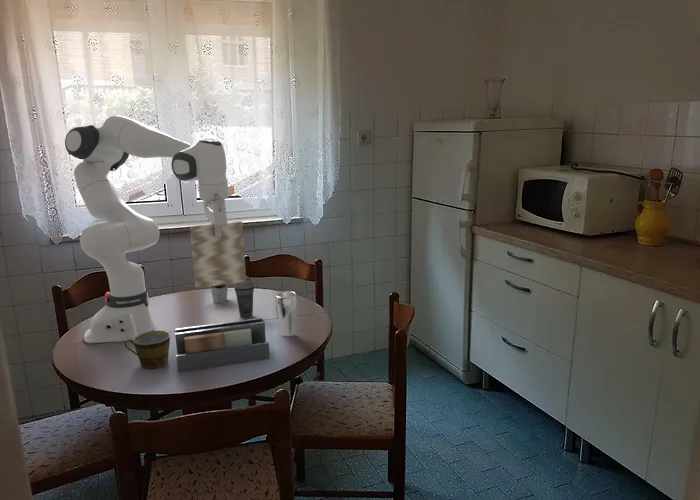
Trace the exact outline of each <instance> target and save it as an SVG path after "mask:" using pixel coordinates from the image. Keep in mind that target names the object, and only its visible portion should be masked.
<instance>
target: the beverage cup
mask: <svg viewBox="0 0 700 500" xmlns="http://www.w3.org/2000/svg"><path fill="white" fill-rule="evenodd" d="M233 288H234V289H233V290H234V292H235V295H236V301H237V302H236V303H237V307H238V313H239V317H240V319H241V320H242V319H243V320H248V319H252V317H253V315H254V314H253V312H254V292H255V291H254V289H255V285H254V281H253V279H252V278H251V277H249V276H247V275H246V282H239V283H234V287H233Z"/></svg>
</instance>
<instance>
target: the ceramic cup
mask: <svg viewBox="0 0 700 500" xmlns="http://www.w3.org/2000/svg"><path fill="white" fill-rule="evenodd" d="M170 334H171V333H170V332H168V331H166V330H165V331H164V330H153V331H150V332H145V333H142V334H140V335H138V336H136V337H135V338H134V339H133V340H132V339H129V340H127V341H124V346H125V347H124V348H126V349H127V350H129V351H130V352H131V353H133V354H134V355H135V356H137V357H138V360H139V363H140V366H141V368H142V369H144V370H145V371H146V370H147V371H148V370H150V371H152V370H154V371H155V370H159V369H161V368H163V367H166V365H167V364H168V363H169V351H170V350H169V349H170V344H171V343H170V342H171V335H170ZM127 343H131V344H133V346H134V349H135V351H134V350H133V349H131V348H130V347H128V345H127Z"/></svg>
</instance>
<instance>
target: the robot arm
mask: <svg viewBox="0 0 700 500" xmlns="http://www.w3.org/2000/svg"><path fill="white" fill-rule="evenodd" d="M64 139H65V140H64V145H65V146H64V147H65V149H66V151H67V153H68V154H69V155H71V156H72V157H74V158H76V159H79V160H82V161H81V162H80V163H79V164H77V165H76V166H75V168H74V171H73V176H74V180H75V183H76V186H77V189H78V191H79V194H80V196H81V198H82V199H83V200H82V201H83V203H84V204H85V206H86V208H87V211H88V212H89V214H90V215H91V216H92V217H93V218H95V219H96V220H100V221H104V222H102V223H97V224H94V225H92V226H89V227H87V228H84V229H83V230H82V232H81V235H80V237H79V244H80V247H81V250H82V251H83V253H84V254H85V255H87V256H88V257H90V258H92V259H94V260H96V261H97V262H99V264H101V266H102V267H103V268H104V271H105V272H106V276H107V279H108V285H109V289H110V291H107V292H106V293H105V294H104V303H105V305H104V306H103V307H102V308H101V309H100V310H98V312H96V313H95V314H94V315H93V316H92V318H91V321H90V325H89V326H90V327H89V328H88V329H87V330H86V331H85V333H84V334H83V341H84V343H87V344H98V343H99V344H100V343H117V342H118V343H119V342H126V341H127V340H129V339H132V340H133V339H134V338H135V337H136V336H138V335H140V334H142V333H145V332H150V331H155V330H156V325H155V323H154V321H153V318H152V315H151V311H150V308H149V303H150V300H149V294H148V290H147V289H146V282H145V280H146V279H145V273H144V269H143V268H142V267H141V266H140V265H139V264H137V263H135V262H132V261H129V260H127V257H126V254H127V253H130V252H131V253H132V252H136V251H142V250H145V249H147V248H150V247H151V246H154V245H156V244H157V243H158V241H159V239H160V228H159V226H158V224H157V223H156V221H154V219H152V218H150V217H147V216H145V215H142V214H140V213H139V212H137V211H135V210H134V209H133V208H131V207H130V206H129V205H128V204H127V203H126V202H125V200H124V199H123V198H122V196H121V194H120V193H119V191H118V189H117V187H116V186H115V184H114V182H113V179H112V178H111V176H110V172H115V171H117V170H118V169H119V167H121V166H122V165H124V164H125V163H126V161H127V160H128V158H129V156H130V155H131V156H132V157H137V158H143V159H150V158H151V159H152V158H171V164H170V165H171V170H172V173H173V175H174V176H175V178H176V179H177V180H179V181H183V182H193V181H197V183H198V195H199V199H200V200H202V203H203V209H204V213H205V217H206V218H207V219H208V220H209V221H210V222H211V223H210V224H214V229H215V231H214V232H215V236H216V237H221V227H222V226H226V225H227V222H228V218H227V210H226V209H227V208H226V199H228V198H229V197H230V195H229V186H228V185H229V182H228V179H227V169H228V167H227V158H226V152H225V148H224V145H223V143H222V142H221V141H219V140H217V139H213V138H211V139H209V138H200V139H198V140H197V141H196V142H195V143H194V144H192V143H189V142H187V141H185V140H183V139H179V138H176V137H173V136H171V135H169V134H166V133H164V132H161V131H159V130H157V129H155V128H152V127H150V126H148V125H147V124H144V123H142V122H140V121H137V120H135V119H133V118H130V117H127V116H122V115H112V116H111V115H110V116H109V117H107V118H106V119H105V120H104V121H103V124H102V126H100V127H96V126H95V125H93V124H91V125H85V126H76V127H73V128H71V129H70V130H69V131H68V132H67V134H66V136H65V137H64Z"/></svg>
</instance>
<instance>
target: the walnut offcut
mask: <svg viewBox="0 0 700 500" xmlns="http://www.w3.org/2000/svg"><path fill="white" fill-rule="evenodd" d="M184 341H185V351H186V354H187V353H194V352H201V351H208V350H215V349H222V348H225V339H224V332H219V333H212V334H204V335H197V336H189V337H184Z"/></svg>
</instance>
